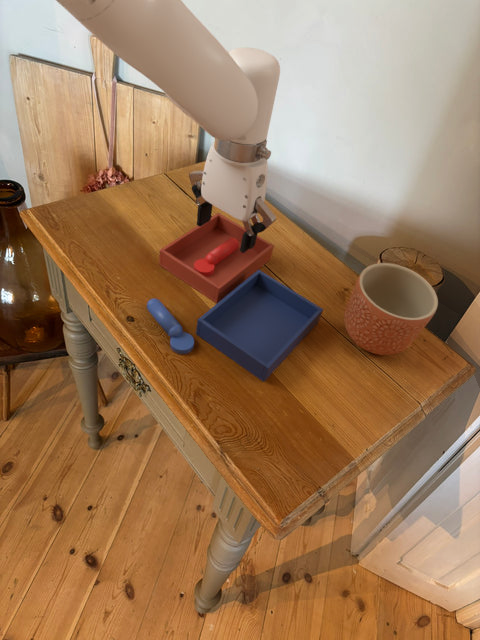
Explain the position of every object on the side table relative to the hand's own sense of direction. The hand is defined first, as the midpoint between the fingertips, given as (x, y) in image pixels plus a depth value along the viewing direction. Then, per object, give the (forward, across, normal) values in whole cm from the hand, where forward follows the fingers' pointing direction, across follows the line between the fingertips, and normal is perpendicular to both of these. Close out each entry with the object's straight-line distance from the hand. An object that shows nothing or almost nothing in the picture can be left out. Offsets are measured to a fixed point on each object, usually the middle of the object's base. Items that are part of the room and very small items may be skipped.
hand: (224, 235), depth 81 cm
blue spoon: (+5, -5, +19) cm, 20 cm away
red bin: (+5, 0, +1) cm, 6 cm away
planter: (+5, -30, -4) cm, 31 cm away
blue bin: (+5, -15, +9) cm, 18 cm away
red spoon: (+5, 0, +2) cm, 5 cm away
